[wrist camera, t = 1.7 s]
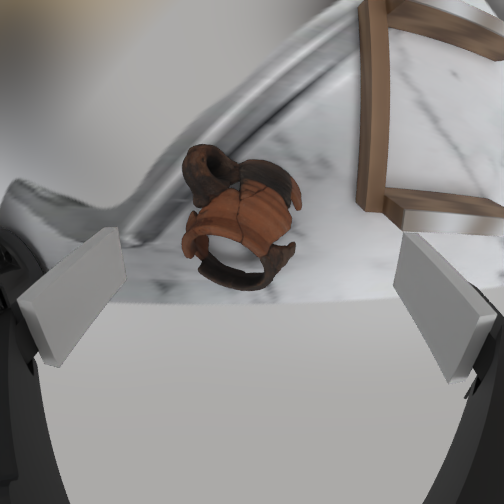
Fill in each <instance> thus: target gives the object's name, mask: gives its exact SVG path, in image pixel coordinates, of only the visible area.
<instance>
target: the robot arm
mask: <svg viewBox="0 0 504 504" xmlns="http://www.w3.org/2000/svg"><path fill="white" fill-rule="evenodd" d="M126 280H127V276H126V271H125V266H124V261H123V255H122V250H121V244H120V238H119V232H118V227H104V228H103V229H101V230H100V231H99V232H97V233H96V234H95V235H93V236H92V237H91V238H89V239H88V240H87V241H86V242H84V243H83V244H82V245H80V246H79V247H78V248H77V249H75V250H74V251H73V252H71V253H70V254H69V255H68V256H66V257H65V258H64V259H63V260H62V261H60V262H59V263H58V264H57V265H55V266H54V267H53V268H52V269H51V270H49V271H48V272H47V273H46V274H45V275H43V272H42V270H41V268H40V266H39V264H38V263H37V261H36V259H35V258H34V256H33V254H32V253H31V252H30V250H29V249H28V248H27V246H26V245H25V244H24V243H23V242H22V241H21V240H20V239H19V238H18V237H17V236H16V235H15V234H14V233H12V232H11V231H9V230H7V229H5V228H3V227H0V504H70V502H69V500H68V497H67V494H66V491H65V489H64V485H63V482H62V479H61V476H60V473H59V470H58V466H57V463H56V459H55V456H54V452H53V448H52V445H51V440H50V437H49V432H48V428H47V423H46V418H45V413H44V407H43V402H42V396H41V389H40V383H39V375H38V367H37V363H36V361H35V359H34V356H35V355H36V354H37V352H38V351H39V353H40V356H41V358H42V360H43V362H44V364H47V365H50V366H54V367H58V368H60V367H61V365H62V364H63V362H64V361H65V360H66V358H67V357H68V355H69V354H70V352H71V351H72V350H73V348H74V347H75V346H76V344H77V343H78V341H79V340H80V339H81V337H82V336H83V335H84V333H85V332H86V331H87V329H88V328H89V327H90V325H91V324H92V323H93V321H94V320H95V319H96V318H97V316H98V315H99V314H100V312H101V311H102V310H103V308H104V307H105V306H106V305H107V303H108V302H109V301H110V300H111V298H112V297H113V296H114V295H115V293H116V292H117V291H118V290H119V288H120V287H121V286H122V285H123V283H124V282H125V281H126ZM393 287H394V288H395V290H396V292H397V293H398V295H399V296H400V298H401V300H402V301H403V303H404V305H405V306H406V308H407V310H408V311H409V313H410V315H411V316H412V318H413V320H414V321H415V323H416V325H417V327H418V328H419V330H420V332H421V334H422V336H423V337H424V339H425V341H426V343H427V345H428V346H429V348H430V350H431V352H432V354H433V356H434V358H435V359H436V361H437V363H438V365H439V367H440V369H441V371H442V373H443V375H444V377H445V379H446V381H447V383H448V384H453V383H458V382H463V381H465V380H466V379H467V377H468V375H469V374H470V371H471V370H472V368H473V369H474V370H475V372H476V374H477V376H476V378H475V380H474V382H473V383H472V385H471V387H470V388H469V390H468V392H467V393H466V395H465V397H464V399H467V397H468V396H469V397H468V400H467V404H466V407H465V409H464V412H463V415H462V418H461V421H460V423H459V426H458V429H457V432H456V434H455V437H454V439H453V442H452V444H451V446H450V449H449V451H448V454H447V456H446V458H445V460H444V463H443V465H442V467H441V469H440V471H439V473H438V475H437V477H436V479H435V481H434V483H433V485H432V487H431V489H430V491H429V493H428V495H427V497H426V499H425V500H424V502H423V504H504V317H503V316H502V314H501V313H500V312H499V311H498V310H497V309H496V308H495V306H494V305H493V304H492V303H491V302H489V300H488V299H487V298H486V297H485V296H484V295H483V293H482V292H481V291H480V290H479V289H478V288H477V287H475V286H474V285H472V284H471V283H469V282H468V281H467V280H466V279H465V278H464V277H463V276H462V275H461V274H460V273H459V272H458V271H457V270H456V269H455V268H454V267H453V266H452V265H451V264H450V263H449V262H448V261H447V260H446V259H445V258H444V257H443V256H442V255H441V254H440V253H438V252H437V251H436V250H435V249H434V248H433V247H432V246H431V245H430V244H429V243H428V242H427V241H426V240H425V239H424V238H422V237H421V236H420V235H419V234H418V233H407V232H403V237H402V243H401V248H400V254H399V259H398V264H397V269H396V274H395V278H394V283H393Z"/></svg>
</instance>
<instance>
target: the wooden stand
mask: <svg viewBox="0 0 504 504" xmlns="http://www.w3.org/2000/svg"><path fill="white" fill-rule="evenodd" d="M358 17H359V33H360V60H361V117H360V145H359V163H358V178H357V191H356V203H357V204H358V205H359V206H360V207H361V208H362V209H363V210H364V211H365V212H379V213H383V214H384V215H385V216H386V217H388V218H389V219H390V220H391V221H392V222H393V223H394V224H395V225H396V226H397V227H398V228H399V229H400V230H402V231H408V232H430V233H450V234H468V235H485V236H501V237H504V207H503V206H501V205H499V204H497V203H495V202H493V201H492V200H490V199H486V198H479V197H471V196H464V195H456V194H448V193H439V192H430V191H420V190H409V189H398V188H386V187H385V183H386V172H387V159H388V143H389V121H390V58H389V37H388V27H390V28H395V29H399V30H404V31H408V32H412V33H415V34H419V35H423V36H426V37H430V38H433V39H436V40H440V41H443V42H446V43H449V44H452V45H455V46H457V47H460V48H463V49H466V50H468V51H471V52H474V53H476V54H479V55H481V56H484V57H486V58H488V59H491V60H493V61H502V60H504V21H502V20H500V19H498V18H497V17H495V16H493V15H491V14H489V13H487V12H485V11H482V10H480V9H478V8H476V7H474V6H472V5H469V4H467V3H465V2H462V1H460V0H364V1H363V2H362V3H361V4H360V5H359V7H358Z"/></svg>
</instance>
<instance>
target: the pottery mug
mask: <svg viewBox="0 0 504 504" xmlns="http://www.w3.org/2000/svg"><path fill="white" fill-rule="evenodd" d="M182 172H183V176H184V179H185V181H186V183H187V185H188V186H189V187H190V189H191V191H192V193H193V204H194V205H195V207H197V208H202V209H201V210H200V212H199V214H197V212H196V211H192V212H191V214H190V216H189V218H188V222H187V224H186V233H185V234H184V236H183V238H182V250H183V253H184V255H185V256H186V258H190V259H192V258H193V257H194V255H196V256H197V257H198V258H199V259H200V260H201V261H202V263H201V265H200V266H199V268H198V272H199V273H200V274H202V275H203V276H204V277H206V278H207V279H209V280H211V281H213V282H215V283H217V284H219V285H222V286H224V287H228V288H233V289H236V290H241V291H255V290H261V289H263V288H265V287H266V286H268V285H269V284H270V283H271V282H272V281H273V278H274V277H275V275H276V274H277V273H278V272H279V271H280V270H281V268H282V267H284V266H285V265H286V264H287V262H288V260H289V259H290V258H291V257H292V256H293V255H294V253H295V247H296V243H295V242H291V243H290V244H288V245H287V246H285V245H284V246H277V245H274V244H272V243H273V242H275V241H277V240H278V239H279V238H280V237H281V236H283V235H284V234H285V233H286V232H288V231H289V230H290V228H291V223H292V217H291V215H290V213H289V211H288V209H289V208H290V204H291V200H292V202H293V204H294V207H295V209H296V210H297V211H299V210H301V208H302V201H301V192H300V189H299V187H298V185H297V183H296V182H295V180H294V179H293V178H292V177H291V176H290V174H289V173H287V172H286V171H285V170H283V169H282V168H281V167H279V166H277V165H275V164H273V163H271V162H268V161H265V160H246V161H245V162H242V163H240V164H238V163H237V162H234V161H232V160H231V159H230V158H228V157H227V156H226V155H225V154H224V153H223V152H222V151H221V150H220V149H219V148H217V147H215V146H213V145H206V144H199V145H195V146H193V147H191V148H190V149H189V150H188V153H187V155H186V157H185V159H184V161H183V164H182ZM236 182H240V190H239V191H238V190H236V189H234V188H229V187H230V185H232V184H234V183H236ZM207 235H217V236H222V237H226V238H229V239H232V240H234V241H236V242H239V243H241V244H242V245H244V246H245V247H247V248H248V249H249V250H251V251H252V252H253V253H254V254H255V255H256V256H257V257H259V258H260V261H261V263H262V264H263V267H264V272H263V273H245V272H244V271H242V270H238V269H234V268H231V267H228V266H226V265H224V264H223V263H221V262H220V261H219V260H218V259H217V258H216V257H214V256H213V255H212V254H211V253H210V252H209V251H208V247H209V238H208V236H207Z"/></svg>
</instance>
